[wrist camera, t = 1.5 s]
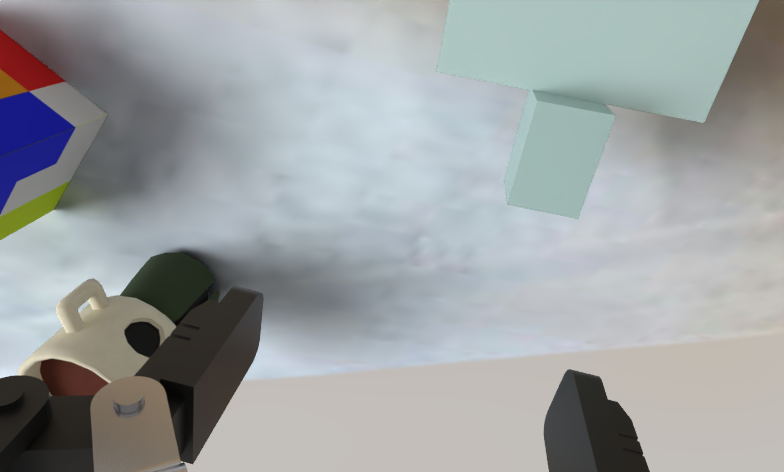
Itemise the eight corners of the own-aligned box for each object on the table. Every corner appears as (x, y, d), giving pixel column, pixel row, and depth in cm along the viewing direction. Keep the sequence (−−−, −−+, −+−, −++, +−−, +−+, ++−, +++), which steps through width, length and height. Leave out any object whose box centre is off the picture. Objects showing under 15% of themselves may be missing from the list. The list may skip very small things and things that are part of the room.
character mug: (243, 336, 43) (160, 468, 32) (166, 338, 44) (59, 466, 33) (205, 217, 38) (91, 322, 27) (120, 223, 40) (-24, 325, 28)
